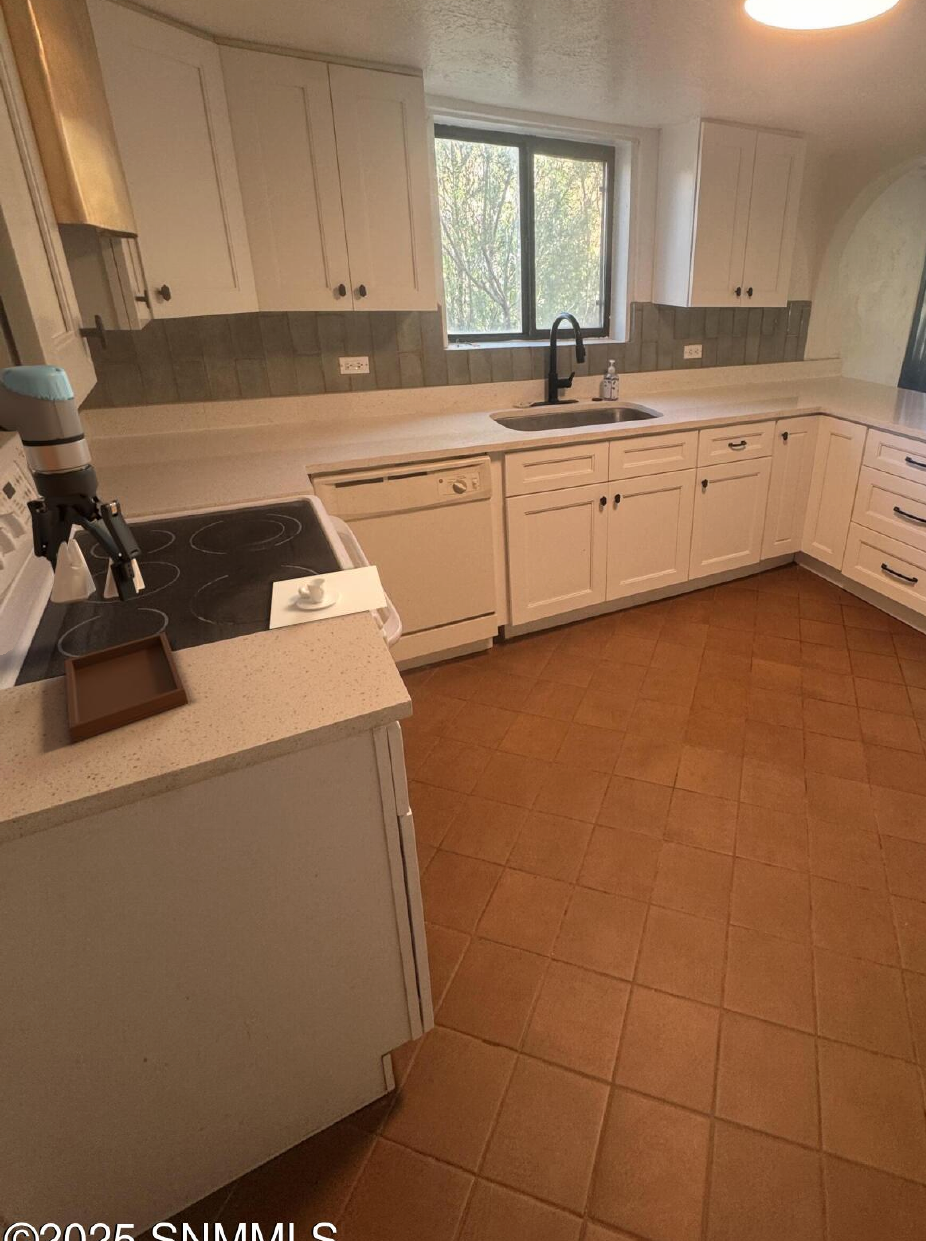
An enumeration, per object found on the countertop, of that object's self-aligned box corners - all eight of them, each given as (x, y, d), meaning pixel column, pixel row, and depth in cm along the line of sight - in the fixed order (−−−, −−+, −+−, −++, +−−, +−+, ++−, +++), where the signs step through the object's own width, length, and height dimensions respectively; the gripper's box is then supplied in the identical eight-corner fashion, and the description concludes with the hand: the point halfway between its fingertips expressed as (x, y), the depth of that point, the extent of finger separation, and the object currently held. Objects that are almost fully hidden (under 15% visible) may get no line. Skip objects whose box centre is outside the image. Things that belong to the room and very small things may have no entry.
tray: (69, 673, 98) (64, 660, 97) (167, 644, 106) (164, 631, 105) (74, 742, 83) (69, 728, 82) (188, 702, 91) (184, 689, 90)
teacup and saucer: (296, 594, 122) (292, 575, 121) (339, 586, 125) (336, 568, 124) (296, 614, 115) (292, 595, 113) (342, 606, 118) (339, 586, 116)
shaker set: (53, 612, 100) (32, 549, 97) (58, 602, 104) (38, 540, 100) (143, 595, 106) (127, 535, 103) (145, 585, 110) (129, 527, 106)
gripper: (147, 463, 100) (178, 588, 108) (20, 458, 101) (60, 582, 109) (108, 477, 93) (145, 610, 101) (-27, 471, 94) (19, 602, 102)
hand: (100, 595), depth 105 cm, fingers closed on shaker set, 9 cm apart
